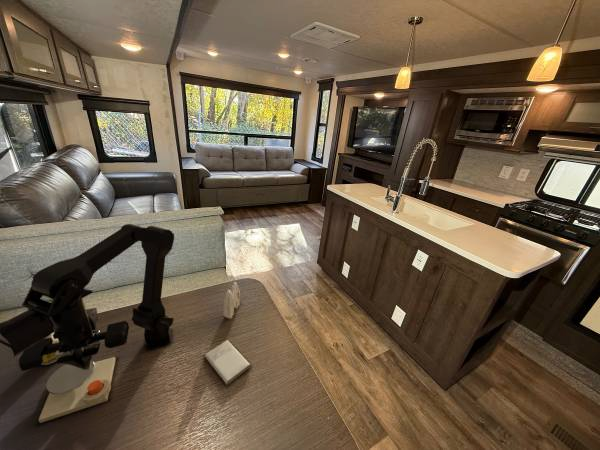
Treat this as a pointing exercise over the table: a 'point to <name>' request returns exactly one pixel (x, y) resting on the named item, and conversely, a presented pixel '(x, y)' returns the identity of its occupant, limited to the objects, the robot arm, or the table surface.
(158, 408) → the table surface
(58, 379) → the scale pan
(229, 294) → the shaker set
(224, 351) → the hard drive
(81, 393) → the scale
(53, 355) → the supplement bottle
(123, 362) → the table surface
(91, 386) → the tare button
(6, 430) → the table surface
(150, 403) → the table surface
